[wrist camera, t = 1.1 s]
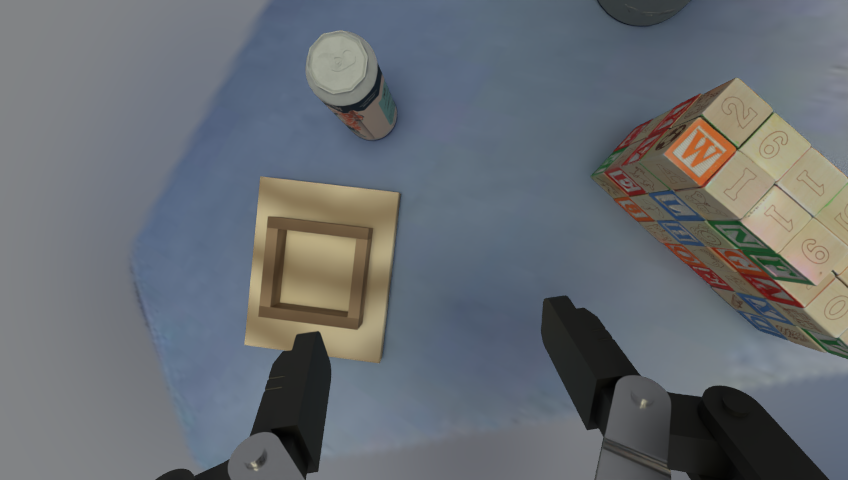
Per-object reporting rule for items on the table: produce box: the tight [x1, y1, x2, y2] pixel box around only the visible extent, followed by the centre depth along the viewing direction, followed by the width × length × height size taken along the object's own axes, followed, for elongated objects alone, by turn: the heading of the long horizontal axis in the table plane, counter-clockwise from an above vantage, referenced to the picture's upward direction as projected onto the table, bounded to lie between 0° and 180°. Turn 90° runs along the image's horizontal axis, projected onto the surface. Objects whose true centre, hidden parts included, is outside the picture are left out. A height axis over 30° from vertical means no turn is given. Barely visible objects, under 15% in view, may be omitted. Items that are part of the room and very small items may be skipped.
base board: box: [245, 177, 401, 363], centre depth 35 cm, size 16×13×4 cm
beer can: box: [306, 30, 397, 140], centre depth 30 cm, size 5×5×12 cm
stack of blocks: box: [591, 78, 848, 359], centre depth 29 cm, size 21×6×12 cm, turn 48°
